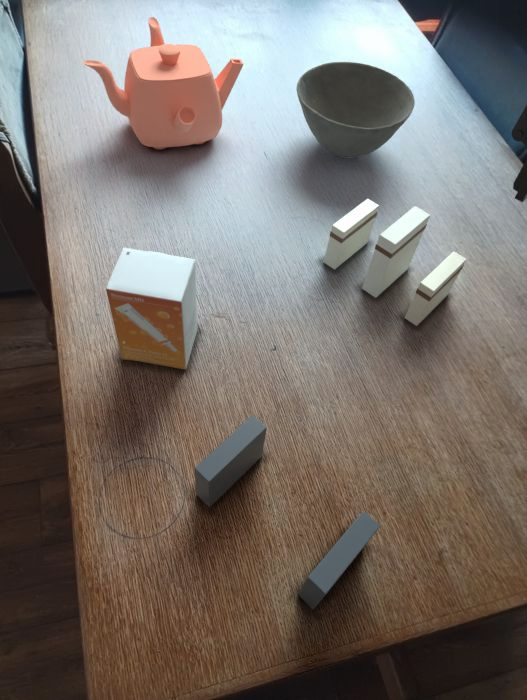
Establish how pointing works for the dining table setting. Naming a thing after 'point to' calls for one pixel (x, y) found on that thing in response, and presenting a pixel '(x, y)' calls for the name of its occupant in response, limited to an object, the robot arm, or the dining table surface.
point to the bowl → (353, 106)
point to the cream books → (355, 235)
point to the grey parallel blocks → (240, 457)
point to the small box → (154, 307)
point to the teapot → (170, 92)
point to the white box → (395, 251)
